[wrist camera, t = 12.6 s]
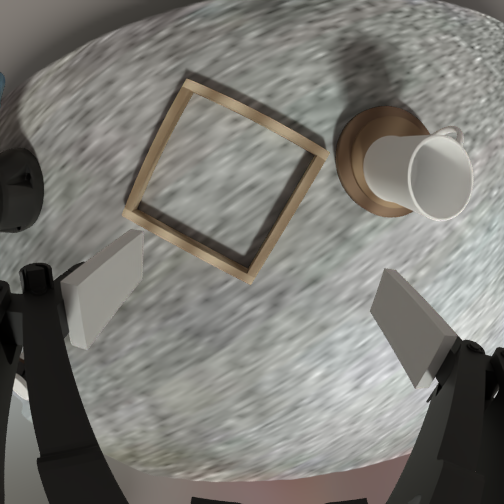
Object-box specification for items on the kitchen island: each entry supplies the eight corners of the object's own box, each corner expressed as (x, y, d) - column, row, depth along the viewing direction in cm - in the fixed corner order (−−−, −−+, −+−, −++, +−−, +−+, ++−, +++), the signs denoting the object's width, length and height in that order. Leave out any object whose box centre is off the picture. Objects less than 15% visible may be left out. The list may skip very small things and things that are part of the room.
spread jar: (32, 335, 50) (3, 364, 39) (70, 362, 51) (44, 396, 40) (33, 366, 53) (9, 394, 42) (68, 391, 55) (46, 422, 44)
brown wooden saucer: (314, 177, 37) (319, 179, 34) (367, 87, 33) (375, 82, 30) (399, 233, 39) (408, 239, 36) (445, 150, 34) (457, 150, 31)
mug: (409, 108, 30) (461, 96, 19) (445, 159, 32) (501, 167, 21) (349, 164, 33) (387, 171, 22) (389, 215, 35) (436, 242, 24)
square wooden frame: (127, 212, 40) (121, 215, 38) (190, 81, 34) (186, 78, 32) (251, 279, 42) (250, 285, 40) (326, 152, 36) (330, 152, 34)
